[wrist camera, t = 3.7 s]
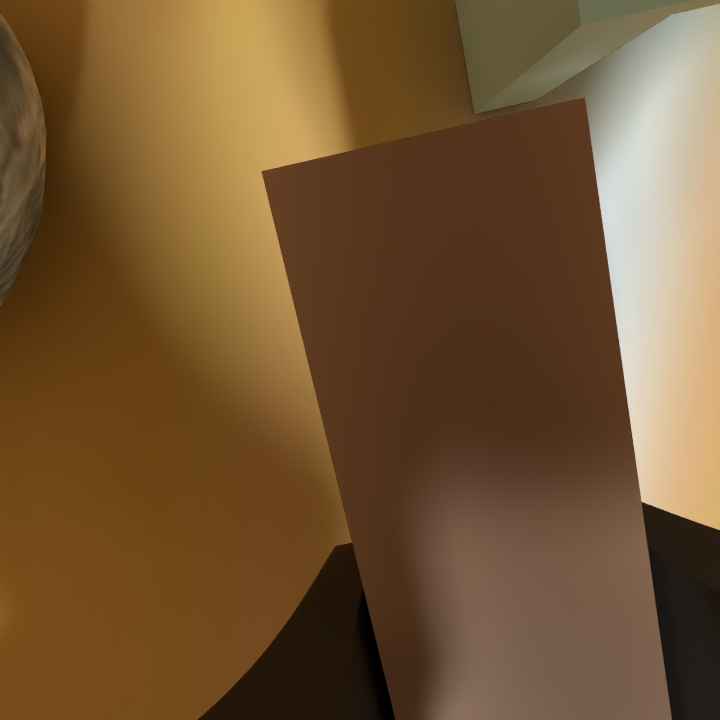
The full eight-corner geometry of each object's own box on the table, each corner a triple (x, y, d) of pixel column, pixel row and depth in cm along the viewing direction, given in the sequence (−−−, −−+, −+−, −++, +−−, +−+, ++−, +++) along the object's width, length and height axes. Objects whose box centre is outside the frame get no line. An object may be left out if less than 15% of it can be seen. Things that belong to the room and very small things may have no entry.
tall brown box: (440, 807, 14) (494, 1124, 9) (296, 193, 11) (262, 170, 6) (587, 776, 14) (722, 1078, 9) (477, 152, 11) (584, 97, 6)
